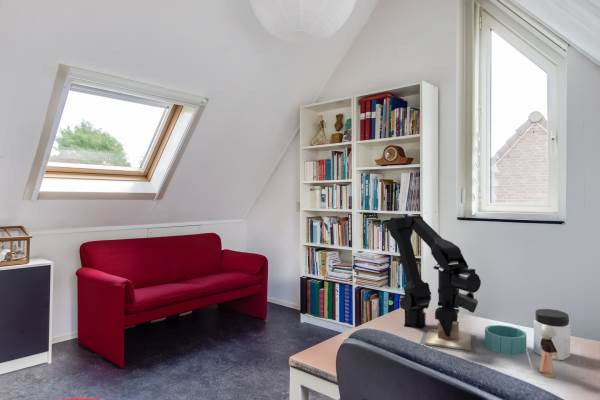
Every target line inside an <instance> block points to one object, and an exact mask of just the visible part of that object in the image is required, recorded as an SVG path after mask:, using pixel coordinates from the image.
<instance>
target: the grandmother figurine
mask: <svg viewBox="0 0 600 400" xmlns="http://www.w3.org/2000/svg"><path fill="white" fill-rule="evenodd" d="M541 329H542V332H541V335H542V337H543V338H542V339H541V343H540V344H541V345H540V349H542V350H543V351H542V356H540V362H539V365H540V366H539V367H538V369H537V370H538V372H539V373H542V376H544V377H545V378H555V377H556V374H555V373H554V361H555V360H556V361H557V359H558V357H557V350H556V348H555V346H554V344H553V342H552V340H551V339H552V337H554V336H556V335H557V334H556V332H555V331H554V329H553V328H552V327H550V326H547V325H543V326H542V328H541ZM552 355H553V358H552Z"/></svg>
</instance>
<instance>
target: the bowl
mask: <svg viewBox="0 0 600 400" xmlns="http://www.w3.org/2000/svg"><path fill="white" fill-rule="evenodd" d="M484 346H485V348H488V349H489V350H491V351H493V352H496V353H498V354H500V353H501V354H504V355H505V354H506V355H522V354H524V353H526V352H527V333H526V332H525V331H524V330H522V329H520V328H518V327H513V326H510V325H509V326H508V325H501V324H494V325H493V324H492V325H487V326H486V327H484Z"/></svg>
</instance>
